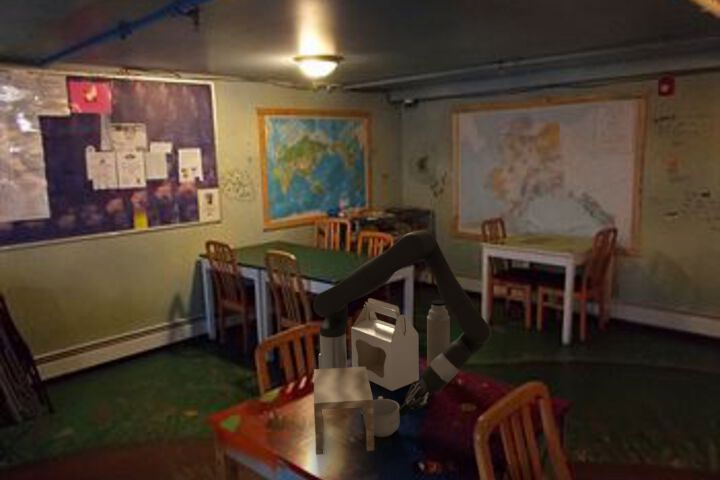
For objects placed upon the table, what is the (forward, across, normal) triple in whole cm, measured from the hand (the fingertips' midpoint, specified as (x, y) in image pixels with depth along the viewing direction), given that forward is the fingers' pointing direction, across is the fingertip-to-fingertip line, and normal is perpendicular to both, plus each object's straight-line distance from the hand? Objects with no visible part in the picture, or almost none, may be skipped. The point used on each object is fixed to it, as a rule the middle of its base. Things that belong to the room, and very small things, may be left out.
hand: (399, 414), depth 165 cm
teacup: (+7, 0, -1) cm, 7 cm away
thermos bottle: (-11, -34, +17) cm, 40 cm away
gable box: (+3, -38, +4) cm, 38 cm away
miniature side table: (+15, 0, -9) cm, 17 cm away
